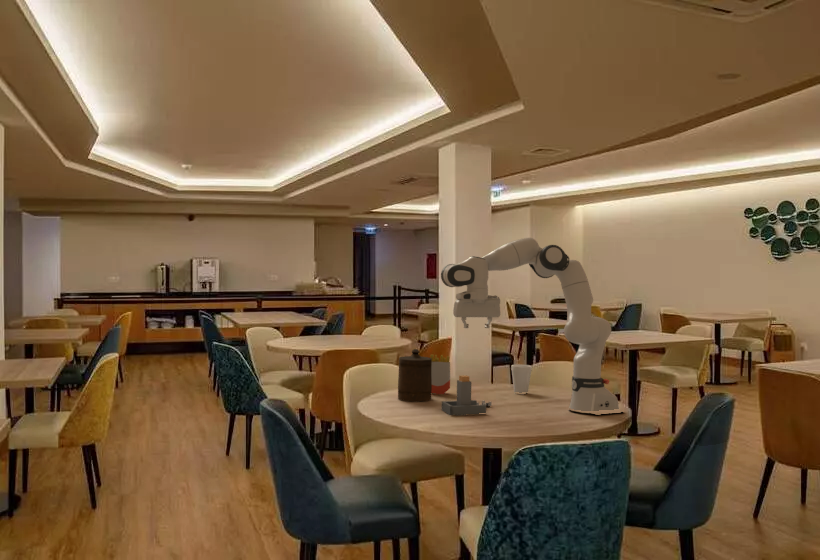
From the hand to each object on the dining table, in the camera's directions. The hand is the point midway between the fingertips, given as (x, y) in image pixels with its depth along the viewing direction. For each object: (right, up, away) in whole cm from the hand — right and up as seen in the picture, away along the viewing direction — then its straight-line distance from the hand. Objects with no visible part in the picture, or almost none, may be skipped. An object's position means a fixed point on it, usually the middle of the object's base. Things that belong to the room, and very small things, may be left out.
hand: (476, 328), depth 290 cm
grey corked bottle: (-6, -33, -12) cm, 35 cm away
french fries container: (-15, -33, +31) cm, 48 cm away
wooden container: (-26, -33, +16) cm, 45 cm away
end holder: (-6, -33, -12) cm, 36 cm away
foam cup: (+24, -34, +36) cm, 55 cm away
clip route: (+3, -33, -1) cm, 33 cm away
